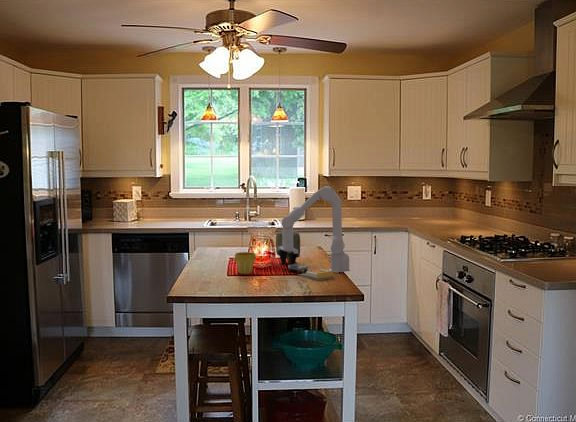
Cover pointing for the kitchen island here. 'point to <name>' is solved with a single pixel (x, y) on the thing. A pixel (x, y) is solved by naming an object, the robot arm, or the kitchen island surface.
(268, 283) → the kitchen island surface
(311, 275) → the loading dock
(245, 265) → the plant pot
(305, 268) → the trolley
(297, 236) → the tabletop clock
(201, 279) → the kitchen island surface
